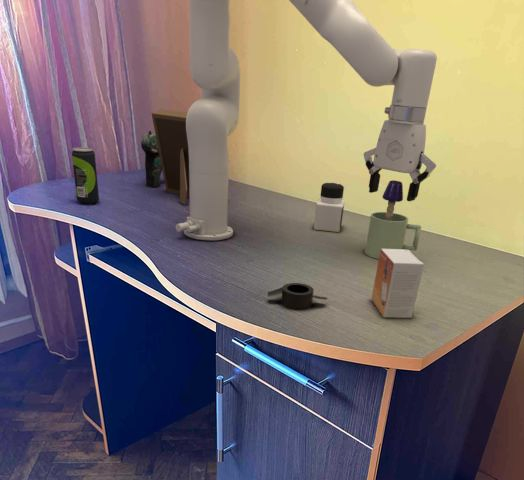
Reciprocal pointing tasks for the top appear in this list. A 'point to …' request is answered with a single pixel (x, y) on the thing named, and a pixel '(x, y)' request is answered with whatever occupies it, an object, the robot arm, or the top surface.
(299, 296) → the black ring with tabs
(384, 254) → the small box
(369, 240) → the mug
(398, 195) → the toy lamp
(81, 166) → the beverage can
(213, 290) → the top surface
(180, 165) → the photo frame
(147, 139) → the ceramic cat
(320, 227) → the medicine bottle
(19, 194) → the top surface
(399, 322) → the top surface
